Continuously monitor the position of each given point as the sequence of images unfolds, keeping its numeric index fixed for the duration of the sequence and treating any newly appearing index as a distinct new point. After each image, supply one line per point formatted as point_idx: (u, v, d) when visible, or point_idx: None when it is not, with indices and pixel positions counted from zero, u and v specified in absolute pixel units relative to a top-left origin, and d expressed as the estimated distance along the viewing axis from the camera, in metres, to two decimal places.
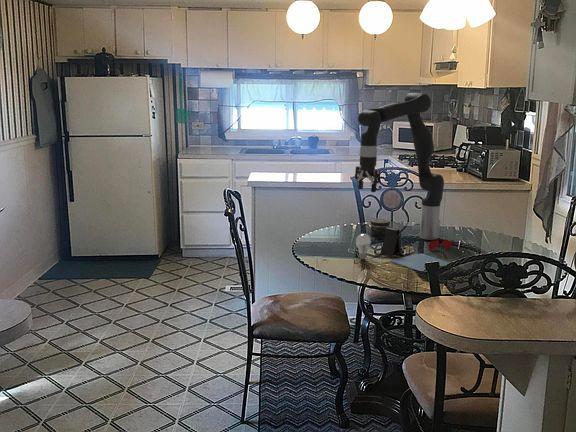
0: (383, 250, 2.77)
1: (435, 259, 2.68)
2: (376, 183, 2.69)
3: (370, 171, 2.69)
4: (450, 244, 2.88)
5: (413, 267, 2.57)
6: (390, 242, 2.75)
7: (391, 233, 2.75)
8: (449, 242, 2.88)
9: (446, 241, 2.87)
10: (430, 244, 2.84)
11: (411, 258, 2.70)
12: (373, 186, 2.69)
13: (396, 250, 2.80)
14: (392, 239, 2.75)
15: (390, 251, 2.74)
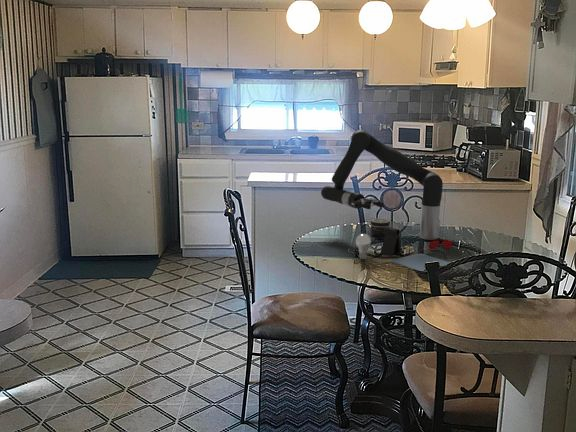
0: (383, 250, 2.77)
1: (435, 259, 2.68)
2: (361, 205, 2.82)
3: None
4: (450, 244, 2.88)
5: (413, 267, 2.57)
6: (390, 242, 2.75)
7: (391, 233, 2.75)
8: (449, 242, 2.88)
9: (446, 241, 2.87)
10: (430, 244, 2.84)
11: (411, 258, 2.70)
12: (364, 207, 2.82)
13: (396, 250, 2.80)
14: (392, 239, 2.75)
15: (390, 251, 2.74)
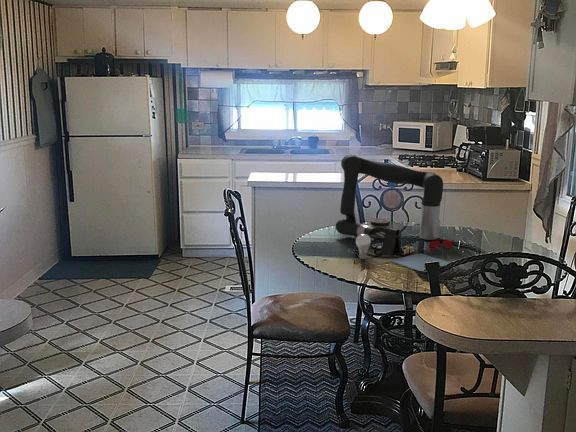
0: (383, 250, 2.77)
1: (435, 259, 2.68)
2: (383, 239, 2.78)
3: None
4: (451, 244, 2.88)
5: (413, 267, 2.57)
6: (390, 242, 2.75)
7: (391, 233, 2.75)
8: (450, 242, 2.88)
9: (447, 241, 2.87)
10: (430, 244, 2.84)
11: (411, 258, 2.70)
12: None
13: (396, 250, 2.79)
14: (391, 239, 2.75)
15: (389, 251, 2.74)
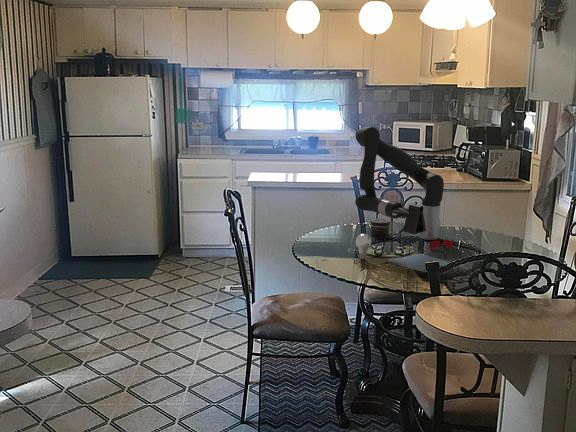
0: (405, 227, 2.63)
1: (435, 259, 2.68)
2: (406, 214, 2.64)
3: None
4: (451, 244, 2.88)
5: (413, 267, 2.57)
6: (413, 219, 2.61)
7: (414, 210, 2.61)
8: (450, 242, 2.88)
9: (447, 241, 2.87)
10: (431, 244, 2.85)
11: (411, 258, 2.70)
12: None
13: (420, 228, 2.65)
14: (414, 216, 2.61)
15: (412, 228, 2.60)
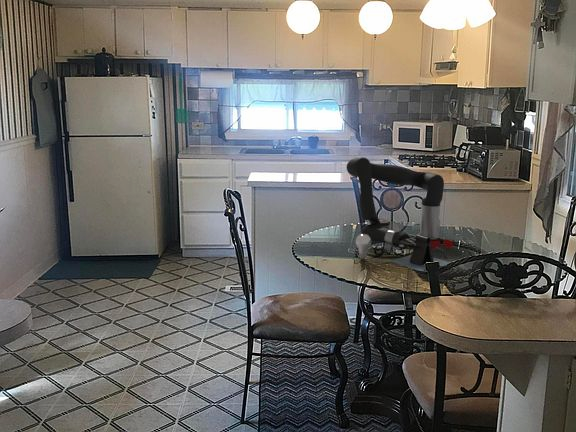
0: (412, 258, 2.62)
1: (435, 259, 2.68)
2: (414, 246, 2.62)
3: None
4: (451, 244, 2.88)
5: (413, 267, 2.57)
6: (419, 250, 2.60)
7: (421, 241, 2.60)
8: (450, 242, 2.88)
9: (447, 241, 2.87)
10: (431, 244, 2.85)
11: None
12: None
13: (427, 259, 2.64)
14: None
15: (419, 260, 2.59)
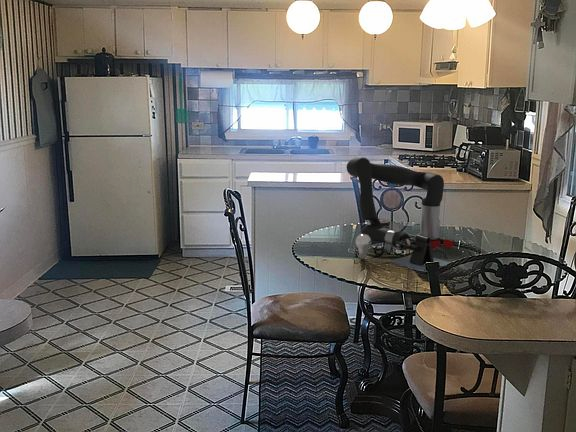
0: (412, 258, 2.62)
1: (435, 259, 2.68)
2: (407, 246, 2.62)
3: None
4: (451, 244, 2.88)
5: (413, 267, 2.57)
6: (419, 250, 2.60)
7: (421, 241, 2.60)
8: (450, 242, 2.88)
9: (447, 241, 2.87)
10: (431, 244, 2.85)
11: None
12: (411, 249, 2.61)
13: (427, 259, 2.64)
14: (421, 247, 2.60)
15: (419, 260, 2.59)
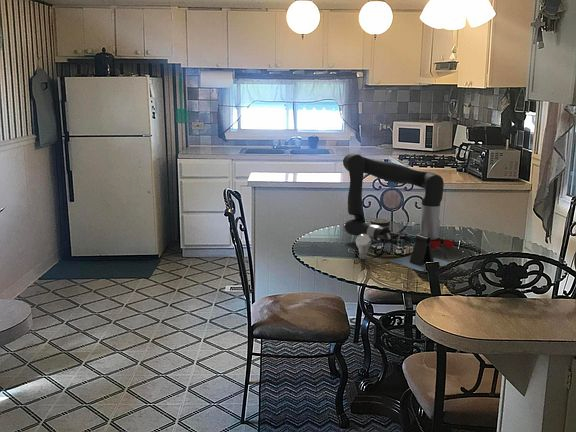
0: (412, 258, 2.62)
1: (435, 259, 2.68)
2: (388, 240, 2.71)
3: None
4: (452, 244, 2.88)
5: (413, 267, 2.57)
6: (419, 250, 2.60)
7: (421, 241, 2.60)
8: (451, 242, 2.88)
9: (448, 241, 2.87)
10: (431, 244, 2.85)
11: None
12: (391, 243, 2.71)
13: (427, 259, 2.64)
14: (421, 247, 2.60)
15: (419, 260, 2.59)
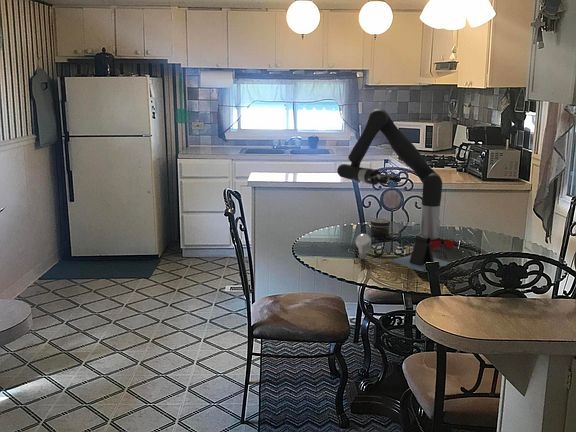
0: (412, 258, 2.62)
1: (435, 259, 2.68)
2: (378, 180, 2.83)
3: None
4: (452, 244, 2.88)
5: (413, 267, 2.57)
6: (419, 250, 2.60)
7: (421, 241, 2.60)
8: (451, 242, 2.88)
9: (448, 241, 2.87)
10: (432, 243, 2.85)
11: None
12: (381, 182, 2.83)
13: (427, 259, 2.64)
14: (421, 247, 2.60)
15: (419, 260, 2.59)
